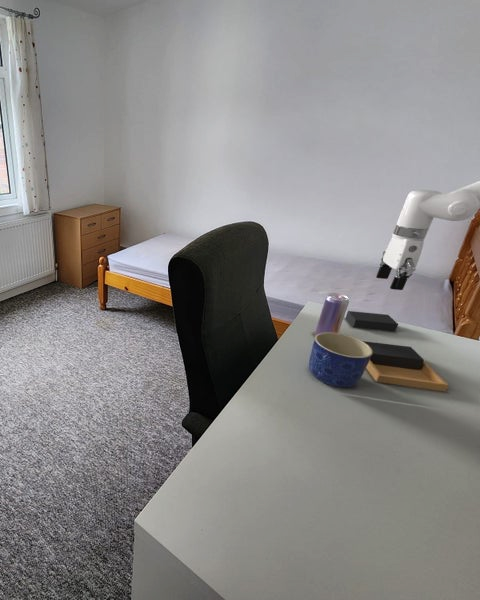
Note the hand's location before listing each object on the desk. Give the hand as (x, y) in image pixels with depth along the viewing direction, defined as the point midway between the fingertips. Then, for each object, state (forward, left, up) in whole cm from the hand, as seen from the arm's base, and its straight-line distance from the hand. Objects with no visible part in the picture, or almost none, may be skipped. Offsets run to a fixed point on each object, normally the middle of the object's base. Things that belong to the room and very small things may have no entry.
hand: (388, 283), depth 111 cm
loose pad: (+1, 0, -16) cm, 16 cm away
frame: (+5, +27, -16) cm, 32 cm away
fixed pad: (+5, +23, -16) cm, 28 cm away
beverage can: (+18, +13, -16) cm, 28 cm away
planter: (+23, +36, -16) cm, 46 cm away
